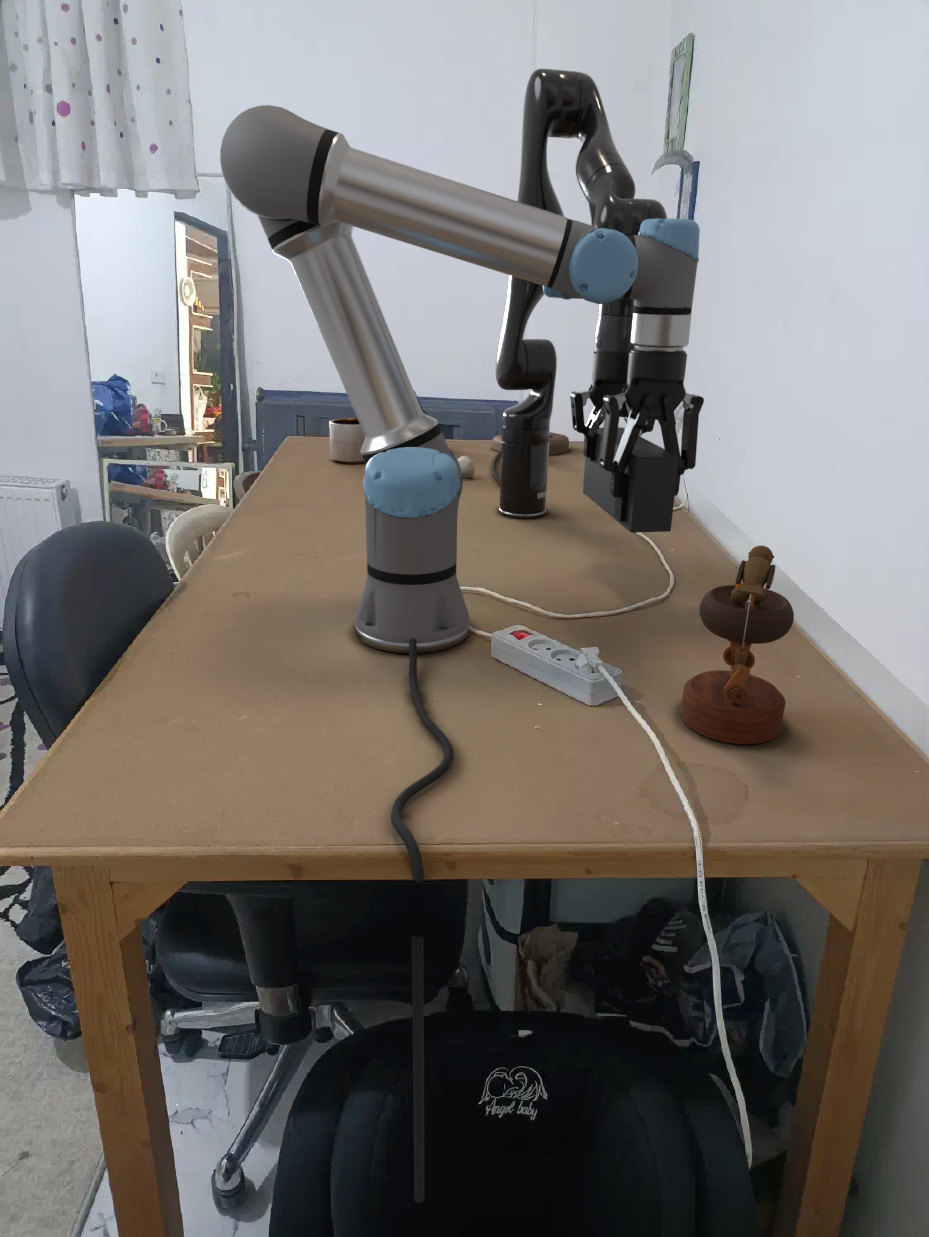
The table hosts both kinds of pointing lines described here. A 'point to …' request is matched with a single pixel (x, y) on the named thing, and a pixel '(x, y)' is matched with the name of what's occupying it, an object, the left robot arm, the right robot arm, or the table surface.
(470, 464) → the dog toy
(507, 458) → the right robot arm
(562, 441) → the brown flat rounded piece
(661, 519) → the box
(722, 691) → the music box
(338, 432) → the planter
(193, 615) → the table surface
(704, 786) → the table surface
